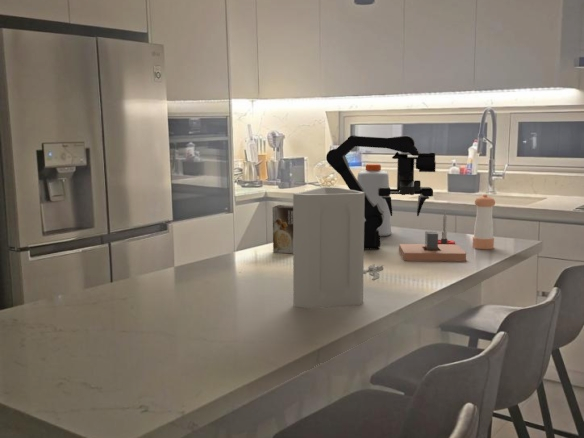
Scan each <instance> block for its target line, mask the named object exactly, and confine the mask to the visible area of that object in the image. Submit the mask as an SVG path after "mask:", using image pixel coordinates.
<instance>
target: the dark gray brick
mask: <svg viewBox="0 0 584 438" xmlns="http://www.w3.org/2000/svg"><path fill="white" fill-rule="evenodd" d="M424 233H425V234H424V235H425V238H424V240H425V241H424V244H425V251H438V240H439V233H438V232H437V231H433V230H432V231H429V230H428V231H427V230H426V231H425V232H424Z"/></svg>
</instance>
